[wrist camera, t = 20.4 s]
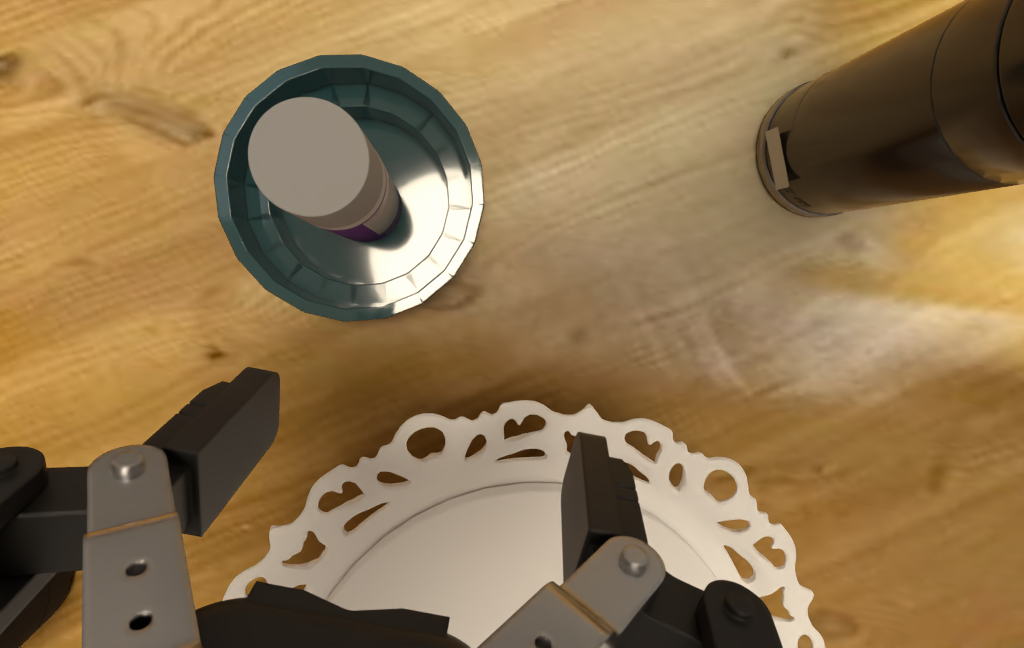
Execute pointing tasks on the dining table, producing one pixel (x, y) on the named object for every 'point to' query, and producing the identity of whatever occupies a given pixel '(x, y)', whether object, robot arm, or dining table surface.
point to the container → (323, 169)
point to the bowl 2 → (513, 524)
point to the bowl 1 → (409, 161)
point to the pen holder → (37, 611)
